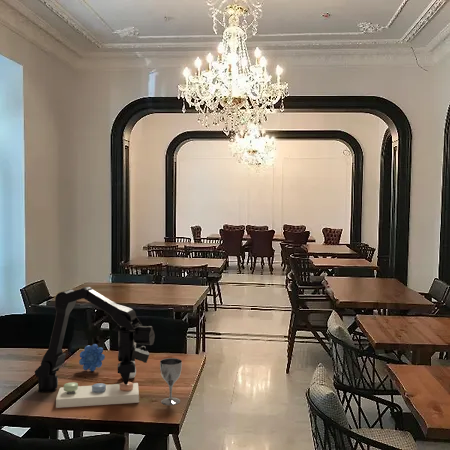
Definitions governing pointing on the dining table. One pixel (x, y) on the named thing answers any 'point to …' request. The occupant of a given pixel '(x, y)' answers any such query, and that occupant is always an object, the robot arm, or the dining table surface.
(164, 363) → the wine glass
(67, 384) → the button sage
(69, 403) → the console
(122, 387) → the button terracotta
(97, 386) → the button blue
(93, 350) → the grapes
